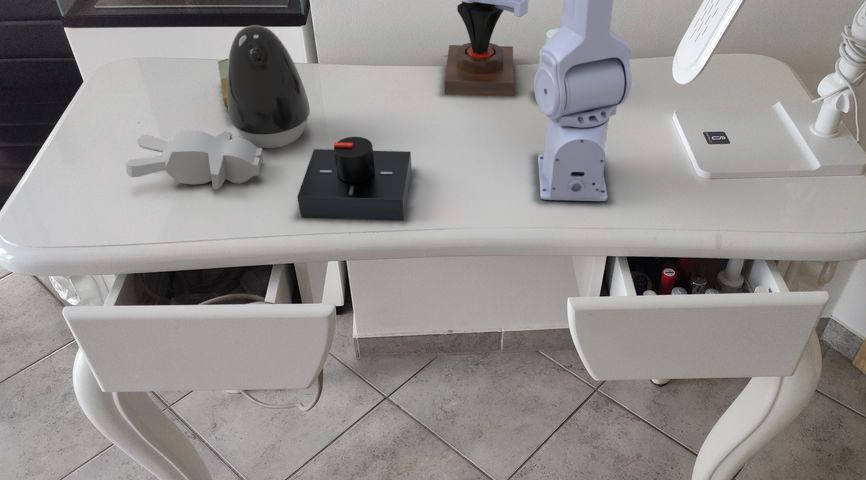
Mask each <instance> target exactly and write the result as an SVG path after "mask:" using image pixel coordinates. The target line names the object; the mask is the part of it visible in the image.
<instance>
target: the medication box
mask: <svg viewBox="0 0 866 480" xmlns="http://www.w3.org/2000/svg"><path fill="white" fill-rule="evenodd" d="M228 59H229V58H225V59H221V60H219V61H217V66H218V72H219V80H220V87H221V93H222V100H223V102H224V106H225V108H226V111H227V112H228V104H227V69H228Z"/></svg>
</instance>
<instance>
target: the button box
mask: <svg viewBox="0 0 866 480" xmlns="http://www.w3.org/2000/svg"><path fill="white" fill-rule="evenodd" d="M470 47H472V46H471V42H467V43H463V44H449V45H448V51H447V59H446V67H445V73H444V74H445V75H444V95H449V96H453V95H454V96H485V97H486V96H488V97H489V96H490V97H491V96H492V97H514V85H515V77H514V46H512V45H511V46H510V45H509V46H508V45H506V46H505V45H504V46H503V45H498V44H496V43H491V42H490V43H489V46H488V47H490V48H492V49H493V50H494V55H493V56H492V57H490V58H485V59H476V58H472V57H469V56H468V55H467V50H468V48H470Z"/></svg>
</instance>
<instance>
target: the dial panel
mask: <svg viewBox="0 0 866 480" xmlns="http://www.w3.org/2000/svg"><path fill="white" fill-rule="evenodd" d="M373 157H374V168H375V173H374V175H373V177H372V178H370V179H369V180H367V181H364V182H361V183H348V182H345V181H343V180H341V179H340V178H339V177H338V175H337V168H336V161H335V153H334V149H328V148H327V149H326V148H324V149H323V148H314V149H313V151H312V154H311V157H310V160H309V162H308V165H307V168H306V170H305V174H304V176H303V179H302V182H301V185H300V188H299V191H298V192H297V193H298V194H297V197H296V199H297V202H298V208H299V213H300V217H301V218H312V219H313V218H314V219H347V220H377V221H379V220H380V221H383V220H384V221H385V220H386V221H404V220H405V216H406V209H407V204H408V197H409V192H410V191H409V190H410V186H411V178H412V172H413V168H412V167H413V166H412V152H411V151H402V150H399V151H398V150H373Z"/></svg>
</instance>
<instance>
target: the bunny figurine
mask: <svg viewBox="0 0 866 480" xmlns="http://www.w3.org/2000/svg"><path fill="white" fill-rule="evenodd" d="M232 134H233V133H232V132H229V131H223V132H221V133H219V134H217V135H215V136H213V135H211V134H209V133H208V132H205V131H200V130H191V129H189V130H181V131H179V132H178V133H177V134H176V135H174V137H172V138H171V139H170V140H169V141H166V140H163V139H162V138H158V137H155V136H153V135H149V134H145V135H144V134H143V135H141V136H140V137H139V138H137V144H138V146H139V148H141V149H144V150H149V151H154V152H157V153H161V154H160V156H149V157H139V158H133V159H129V160H128V161H127V160H126V162H125V167H126V168H125V169H126V175H127V176H128V177H130V178H139V177H143V176H147V175H151V174H154V173H158V172H162V171H165V172H166V174H168V175H169V176H171V177H172V178H173V179H174V180H175V181H176V183H178V184H179V183H180V184H183V185H204V184H207V183H209V182H211V185H212V189H213V190H214V189H220V188H221V187H222V185H223V184H224V183H225V181H226V180H227V181H229V182H231V183H232V184H240V185H241V184H243V183H247V182H248V181H249V180H250V179H251V178H253V177H254V176H255V177H256V176H257V177H258V176H259V175H260V172H261V166H262V163H263V160H264V154H263V147H258V146H255V145H253V144H252V143H251V142H250V141H248V140H246V139H244V138H243V137H233V135H232Z"/></svg>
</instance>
